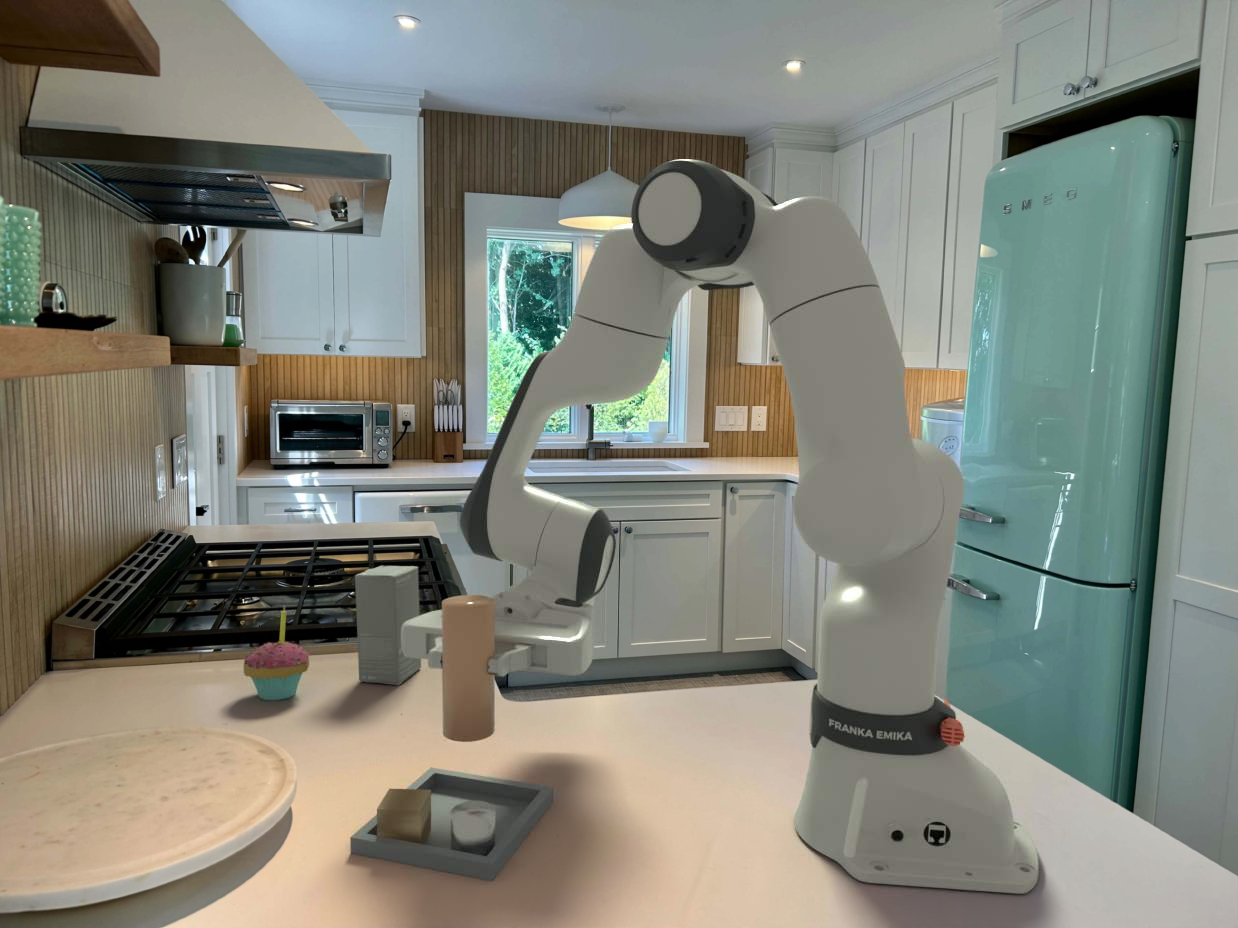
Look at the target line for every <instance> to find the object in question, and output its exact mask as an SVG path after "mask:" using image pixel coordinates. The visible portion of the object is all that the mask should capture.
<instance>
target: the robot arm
mask: <svg viewBox="0 0 1238 928" xmlns="http://www.w3.org/2000/svg"><path fill="white" fill-rule="evenodd" d="M631 206H632V207H631V214H630V215H631V216H630V218H631V223H625V224H623V223H622V224H619V225H616V226H614V227H611V228H610V229H609V230H607V231H606V232H605V233H604V235H602V237H601V239H600V240H599V242H598V245H597V246H596V249H595V251H594V253H593V255H592V257H591V260H590V263H589V265H588V267H587V269H586V272H585V275H584V277H583V280H582V283H581V287H580V289H579V292H578V296H577V300H576V303H575V306H574V310H573V314H572V317H571V318H572V319H571V321H570V323H569V326H568V328H567V329H566V332H565V333H564V335H563V336H562V338H561V340H560V341H559V342H558V343H557V344H556V345H555V346H554V348H552V349H550V350H547V351H543V352H541V353H539V354H538V355H537V356H536V357H535V358H534V359H533V361H532V362H531V363H530V365H529V367H528V368H527V370H526V372H525V373H524V375H523V377H522V379H521V381H520V383H519V386H518V388H517V391H516V392H515V395H514V396H513V399H512V401H511V403H510V406H509V408H508V410H507V412H506V415H505V417H504V420H503V422H502V424H501V427H500V429H499V431H498V433H497V436H496V439H495V440H494V443H493V446H492V448H491V450H490V452H489V454H488V457H487V460H486V462H485V464H484V466H483V468H482V471H481V473H480V475H479V476H478V478H477V480H476V481H475V483H474V485H473V487H472V489H471V490H470V493H469V494H468V496H467V498H466V500H465V502H464V505H463V507H462V509H461V513H460V518H459V527H460V530H461V533H462V535H463V538H464V540H465V542H466V543H467V545H468V547H469V548H470V550H471V552H472V553H473V554H474V555H476V556H480V557H484V558H486V559H491V560H494V561H499V562H505V563H508V564H511V565H512V566H513V565H514V566H515V567H519V568H521V569H524V570H527V571H528V572H529V571H530V572H531V573H530V575H528V576H527V577H525V578H523V579H522V580H521V581H519V582H515V583H514V584H512V585H511V586H508V587H507V588H505V589H503V590H501V591H499V592H497V593H496V594H494V595H493V596H491V598H493V599H494V648H495V654H493V656H491V657H490V658H489V660H488V665H489V667H490V668H489V669H488V673H489V675H495V676H496V677H505V676H506V675H507V674H509V673H513V672H518V671H526V672H527V671H528V672H534V673H535V672H537V673H543V674H544V673H545V674H553V675H562V676H570V677H571V676H578V675H579V676H580V675H582V674H584V673H585V672H586V671H587V670H588V669H589V668H590V667H591V664H592V662H593V659H594V651H595V637H596V633H595V631H596V629H595V628H596V626H595V625H596V624H595V614H594V607H593V605H594V601H595V599H596V596H597V595H598V594H600V592H601V591H602V589H603V587H604V586H605V584H606V582H607V579H608V577H609V575H610V572H611V569H612V567H613V563H614V559H615V554H616V548H617V547H616V546H617V545H616V544H617V540H616V535H615V532H614V529H613V526H612V523H611V520H610V519H609V517H608V515H607V514H606V512H605V511H604V510H603V509H600V508H598V507H596V506H593V505H589V504H587V503H585V502H582V501H579V500H576V499H573V498H570V497H565V496H563V495H560V494H556V493H553V492H551V491H548V490H545V489H541V488H540V487H537V486H534V485H531V484H529V482H528V481H526V477H525V473H526V470H527V469H528V465H529V462H530V461H531V458H532V457H533V454H534V452H535V449H536V447H537V445H538V444H539V443H538V442H539V440H540V438H541V435H542V434H543V431H544V429H545V427H546V425H547V422H548V421H549V419H550V418H551V417H552V416H553V414H555V413H556V412H558V411H559V410H561V409H563V408H568V407H574V406H575V407H576V406H588V405H600V404H608V403H609V404H610V403H615V402H621V401H624V400H627V399H630V398H632V397H634V396H637V395H638V394H640V393H641V392H643V391H644V390H645V389H647V388H648V386H650V385H651V383H652V382H653V381H654V380H655V378H656V376H657V374H658V373H659V370H660V367H661V365H662V362H663V359H664V356H665V353H666V350H667V346H668V343H669V339H670V335H671V332H672V327H673V324H674V319H675V315H676V312H677V309H678V307H679V304H680V302H681V300H682V298H683V297H684V296H685V294H686V293H688V292H689V291H690V290H692V289H693V288H695V287H698V288H700V289H701V290H702V291H715V290H716V291H717V290H727V289H731V290H733V289H734V290H735V289H742V288H743V289H744V288H750V287H753V286H755V288H756V290H757V293H758V294H759V297H760V300H761V301H762V304H763V308H764V311H765V315H766V319H767V322H768V325H769V329H770V332H771V335H772V337H773V338H772V339H773V341H774V345H775V347H776V351H777V355H778V358H779V361H780V364H781V368H782V370H783V374H784V378H785V381H786V384H787V388H788V391H789V394H790V395H789V396H790V401H791V404H792V411H793V418H794V427H795V436H796V439H795V440H796V449H797V462H798V473H799V474H798V482H797V486H796V488H795V493H794V494H793V495H794V497H793V502H792V503H793V504H792V512H793V517H794V518H793V519H794V524H795V526H796V529H797V531H798V533H799V536H800V537H801V539H802V540H803V542H804V543H805V544H806V545H807V546H808V547H809V549H810V550H812V551H813V552H814V553H815V554H816V555H818V556H819V557H821V558H822V559H824V560H827V561H829V562H832V563H835V564H836V567H835V571H834V575H833V577H832V581H831V584H830V588H829V590H828V593H827V596H826V597H825V599H824V601H823V605H822V606H821V611H820V616H819V617H820V618H819V639H818V656H817V657H818V662H817V663H818V664H817V682H816V683H815V685H814V686H813V690H812V695H811V697H810V705H809V707H810V708H809V728H808V729H809V731H808V732H809V734H808V736H809V735H810V737H809V740H810V744H811V752H810V757H809V763H808V768H807V769H808V770H807V775H806V777H805V778H806V779H805V783H804V787H803V791H802V794H801V798H800V801H799V804H798V807H797V809H796V812H795V814H794V818H793V824H794V828H795V830H796V832H797V834H798V835H799V836H800V838H801V839H802V840H803V841H804V842H805V843H806V844H808V846H810V847H811V848H813V849H814V850H815V851H817V852H819V853H821V854H822V855H825V857H828V858H830V859H832V860H833V861H835V862H837V863H838V864H839V865H840V866H841V867H842V868H843V869H844V870H845V871H846V872H847V873H848V874H850V876H852V877H853V878H855V879H856V880H858V881H860V882H862V883H863V882H864V883H868V884H882V885H884V884H885V885H893V886H895V885H896V886H897V885H898V886H906V887H907V886H909V887H924V888H935V889H936V888H937V889H951V890H963V891H964V890H965V891H977V892H993V893H1003V894H1005V893H1008V894H1027V893H1029V892H1030V891H1031V890H1033V889H1034V887H1035V886H1036V884H1037V883H1038V879H1039V877H1040V875H1039V874H1040V870H1039V869H1040V868H1039V867H1040V865H1039V863H1040V862H1039V855H1038V852H1037V848H1036V845H1035V843H1034V841H1033V839H1032V837H1031V836H1030V834H1029V832H1028V831H1027V830H1026V829H1025V827H1024V826H1022V824H1021V823H1020V822H1018V821H1017V820H1016V819H1015V818H1014V815H1013V811H1012V807H1011V806H1012V805H1011V801H1010V799H1009V796H1008V794H1007V793H1008V792H1007V791H1006V789H1005V788H1004V785H1003V783H1002V782H1001V780H1000V779H999V778H998V776H997V775H996V774H995V773H994V771H993V770H991V769H990V768H989V767H987V766H986V765H985V764H984V763H983V762H981V760H979V758H977V757H975V756H974V755H973V754H972V753H971V752H969V751H968V750H967V749H966V748H965V747H964V746H962V745H961V743H963V742H964V741H965V740H964V739H965V732H964V727H963V724H962V723H961V722H960V721H959V720H958V719H957V717H956V712H955V710H954V709H952V707H951V704H950V703H949V701H948V699H946V698H944V701H943V700H941V699H939V698H938V697H936V696H935V691H936V679H937V663H938V662H937V661H938V649H939V647H938V646H939V634H940V625H941V617H942V616H941V615H942V610H943V604H944V599H945V596H946V591H947V585H948V582H949V577H950V572H951V566H952V561H953V555H954V550H955V543H956V540H957V539H956V537H957V532H958V525H959V524H958V523H959V519H960V513H961V509H962V506H963V503H964V497H965V482H964V478H963V475H962V472H961V470H960V468H959V466H958V464H957V463H956V462H955V460H954V459H953V458H952V457H951V456H950V455H949V454H947V453H946V452H945V451H943V450H942V449H940V448H939V447H937V446H935V445H933V444H932V443H930V442H929V441H928V442H927V441H925V440H923V439H918V438H912V434H911V429H910V425H909V417H908V409H907V402H906V394H905V393H906V392H905V375H906V366H905V365H906V364H905V360H904V357H903V355H902V354H903V353H902V351H901V348H900V345H899V342H898V339H897V336H896V332H895V330H894V327H893V323H892V320H891V318H890V317H891V316H890V315H889V311H888V308H887V305H886V302H885V299H884V296H883V293H882V290H881V287H880V284H879V281H878V279H877V276H876V273H875V271H874V268H873V266H872V263H871V261H870V258H869V256H868V253H867V252H866V249H865V247H864V245H863V243H862V241H861V239H860V236H859V235H858V233H857V231H856V228H854V225H853V224H852V222H851V220H850V219H849V216H848V215H847V214H846V211H845V210H844V209H843V207H841V205H839V204H838V203H837V202H836V201H834V200H832V199H830V198H827V197H824V196H818V195H817V196H816V195H808V196H807V195H806V196H802V197H800V196H799V197H796V198H793V199H790V200H788V201H785V202H783V203H780V204H778V203H777V202H776V200H775V199H773V198H772V197H771V196H769V195H768V194H767V193H765V192H761V191H760V190H759V189H757V188H756V187H755V186H754V185H752V184H751V183H750V182H748V181H747V179H744V178H743V177H741V176H739V175H737V174H735V173H732V172H730V171H727V170H725V169H721V168H719V167H717V166H716V165H714V164H711V163H709V162H707V161H705V160H704V161H703V160H699V159H690V158H689V159H688V158H687V159H674V160H671V161H666V162H665V163H662V164H660V165H658V166H656V167H655V168H654V169H653V170H651V171H650V172H649V173H648V174H647V175H646V176H645V177H644V179H642V182H641V183H640V184H639V186H638V188H637V190H636V191H635V195H634V198H633V202H632V205H631ZM401 648H402V652H403V654H404V655H405V656H406V657H411V658H420V659H421V660H422V659H423V660H427V666H428V668H429V669H437V670H442V609H437V610H436V609H435V610H432V611H429V612H426V613H423V614H421V615H420V614H419V616H417V617H415V618H412V619H410V620H407V621H406V622H404V623H403V625H402V628H401Z"/></svg>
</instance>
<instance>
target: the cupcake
mask: <svg viewBox="0 0 1238 928" xmlns="http://www.w3.org/2000/svg"><path fill="white" fill-rule="evenodd" d="M280 613H281V614H280V622H279V623H280V628H279V639H278V641H277V642H273V643H272V642H267V643H263V644H262V645H259V646H258V647H257V648H256V649H254V650H252V652H250V653H249V654H248V655H246V657H245V659H244V660H243V661H244V663H243V674H244V676H245V677H248V678H249V677H250V678H251V680H252V682H253V684H254V686H255V690H256V693H257V695H258V697H259V698H260V700H261V699H262V700H265V701H281V700H285V699H288V698H291V697H293V696H294V695H295V694H296V692H297V689H298V686H299V683H300V680H301V677H302V675H303V673H305V672H307V671H308V669H309V667H310V658H309V657H310V652H307V650H306V649H305V648H304V647H302V646H301V645H299V644H295V643H291V642H289V641H286V640H285V639H286V638H285V637H286V623H287V611H286V605H285V604H284V605H283V610H281V612H280Z"/></svg>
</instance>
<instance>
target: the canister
mask: <svg viewBox="0 0 1238 928" xmlns="http://www.w3.org/2000/svg"><path fill="white" fill-rule="evenodd" d="M441 610H442V669H441V670H442V672H441V673H442V735H443V737H444V738H446V739H448V740H451V741H453V742H454V741H455V742H458V743H459V742H463V743H468V742H469V743H472V742H477V741H482V740H485V739H488V738H489V737H491V736H493V734H494V733H495V731H496V730H495V727H496V724H495V721H496V720H495V716H496V715H495V711H496V710H495V708H496V707H495V704H496V703H495V699H496V698H495V694H496V693H495V692H496V691H495V689H496V688H495V684H496V683H495V679H496V678H495V675H489V673H488V669H489V668H490V667H489V665H488V660H489V658H490V657H491V656H493V654H495V648H494V599H493V598H492V597H491V596H486V595H479V594H467V595H466V594H465V595H463V594H462V595H456V596H454V595H453V596H451V597H448V598H445V599H443V600H442V601H441Z"/></svg>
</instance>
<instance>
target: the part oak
mask: <svg viewBox="0 0 1238 928" xmlns="http://www.w3.org/2000/svg"><path fill="white" fill-rule="evenodd" d="M376 815H377V836H382V837H387V838H392V839H397V840H403V841H408V842H413V843H418V844H425V842H426V840H427V838H428V835H429V833H430V831H431V790H419V789H407V788H388V790H387V792H386V794H385V795H384V796H383V798H382V800H381V801H380V803H379V805H378V806H377V809H376Z"/></svg>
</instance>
